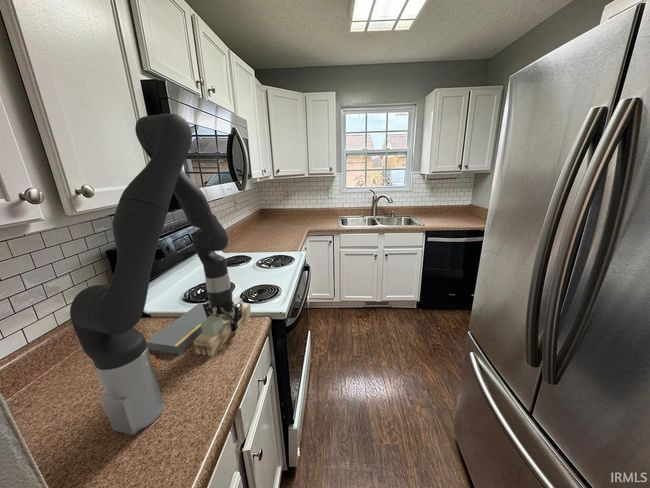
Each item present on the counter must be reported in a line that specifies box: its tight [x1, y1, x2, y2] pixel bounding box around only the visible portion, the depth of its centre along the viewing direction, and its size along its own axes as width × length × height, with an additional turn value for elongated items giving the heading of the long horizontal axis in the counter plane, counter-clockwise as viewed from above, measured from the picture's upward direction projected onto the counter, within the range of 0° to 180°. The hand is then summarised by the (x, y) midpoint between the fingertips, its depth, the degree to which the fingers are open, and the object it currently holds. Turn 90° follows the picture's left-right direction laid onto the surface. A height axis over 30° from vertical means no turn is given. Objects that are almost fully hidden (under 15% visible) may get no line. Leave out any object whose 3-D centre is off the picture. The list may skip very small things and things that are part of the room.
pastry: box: [150, 354, 159, 376], centre depth 75 cm, size 9×7×4 cm
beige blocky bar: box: [192, 302, 252, 357], centre depth 91 cm, size 24×6×5 cm, turn 166°
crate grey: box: [229, 297, 243, 314], centre depth 96 cm, size 4×4×4 cm
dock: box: [146, 302, 223, 356], centre depth 94 cm, size 25×12×3 cm, turn 166°
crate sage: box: [201, 316, 223, 336], centre depth 84 cm, size 4×4×4 cm
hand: (226, 329), depth 92 cm, fingers closed on beige blocky bar, 6 cm apart
